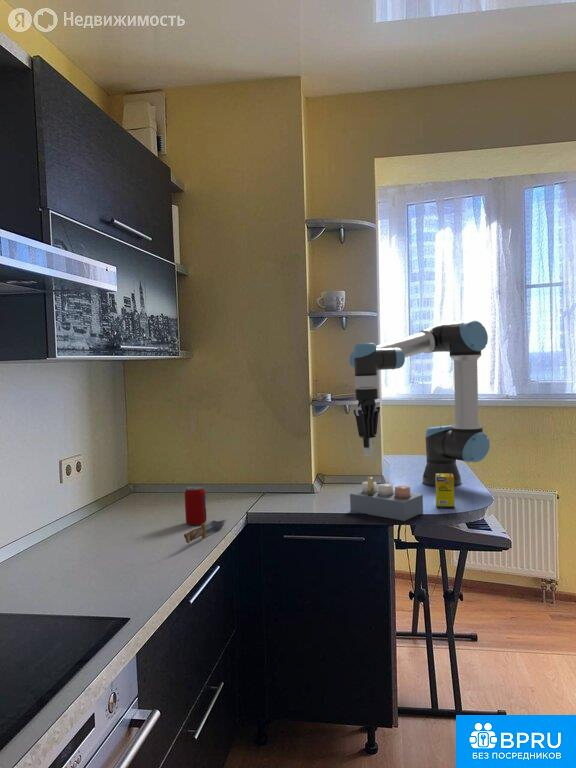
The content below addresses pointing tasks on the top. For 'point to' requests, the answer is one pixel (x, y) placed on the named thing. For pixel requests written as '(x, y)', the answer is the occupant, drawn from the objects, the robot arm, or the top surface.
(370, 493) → the pot post
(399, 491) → the knob
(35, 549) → the top surface
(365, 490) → the knob
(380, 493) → the knob
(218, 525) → the knife
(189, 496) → the beverage can
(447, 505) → the supplement box
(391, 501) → the mount
